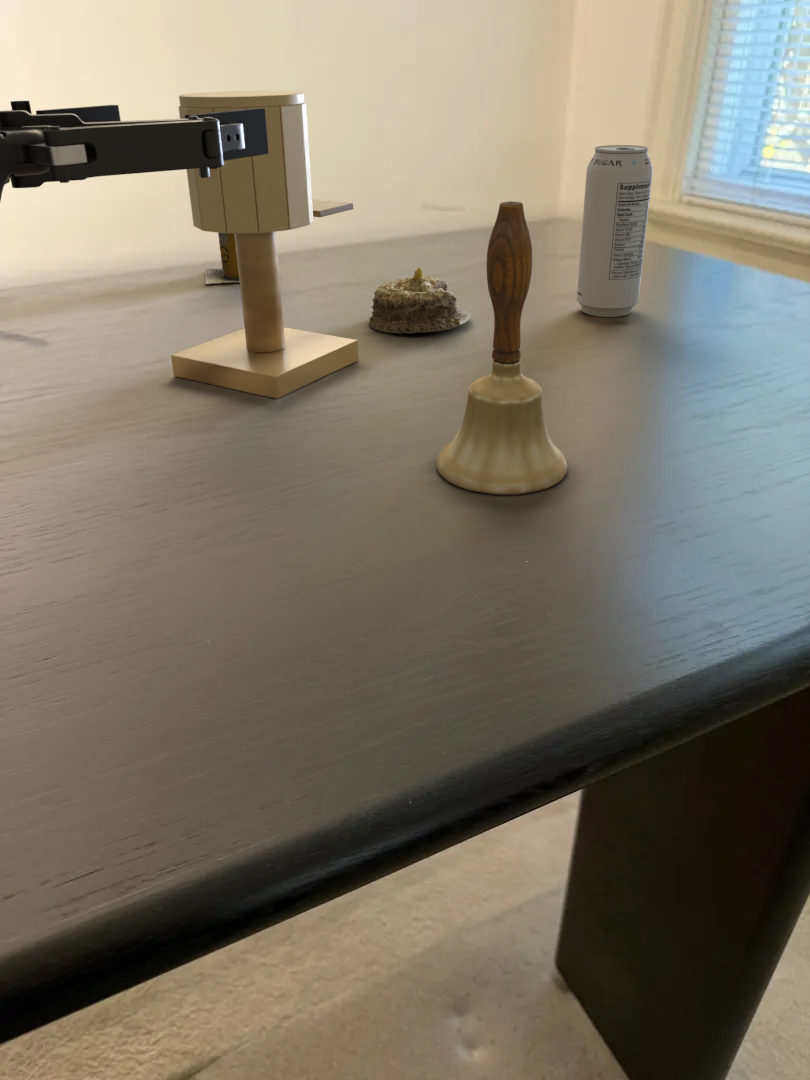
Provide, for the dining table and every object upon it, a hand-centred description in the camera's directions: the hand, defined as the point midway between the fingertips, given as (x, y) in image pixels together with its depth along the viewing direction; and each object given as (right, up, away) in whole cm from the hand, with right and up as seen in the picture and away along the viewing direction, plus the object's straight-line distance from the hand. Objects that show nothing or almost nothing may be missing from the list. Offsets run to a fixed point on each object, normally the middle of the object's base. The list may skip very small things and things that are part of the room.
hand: (186, 128), depth 61 cm
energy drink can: (+35, -6, +28) cm, 45 cm away
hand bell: (+21, -24, -5) cm, 32 cm away
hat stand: (+4, -14, +13) cm, 20 cm away
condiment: (-4, +3, +44) cm, 44 cm away
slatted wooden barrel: (+5, -3, +9) cm, 11 cm away
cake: (+17, -8, +25) cm, 31 cm away
